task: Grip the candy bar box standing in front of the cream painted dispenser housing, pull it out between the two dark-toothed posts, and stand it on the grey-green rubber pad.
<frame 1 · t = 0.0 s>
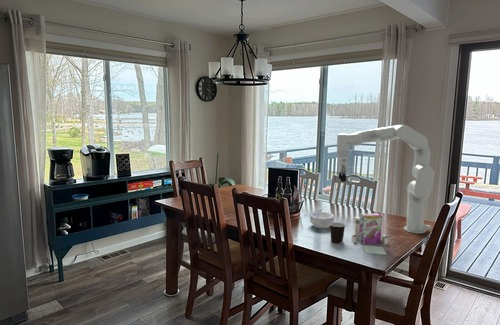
hand: (342, 180, 214), 31 cm above the table, fingers open, 9 cm apart
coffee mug: (335, 242, 193), on the table
candy bar box: (369, 242, 192), on the table
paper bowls: (321, 226, 221), on the table
dispenser: (369, 241, 193), on the table
pad: (374, 250, 180), on the table
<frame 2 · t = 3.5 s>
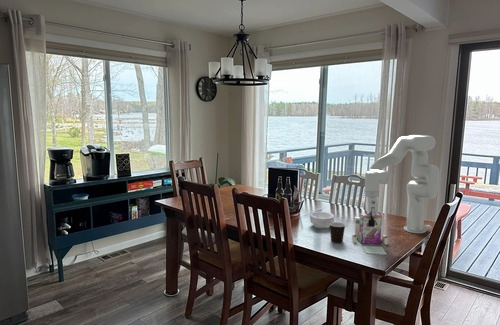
hand: (370, 224, 191), 11 cm above the table, fingers closed on candy bar box, 5 cm apart
candy bar box: (369, 242, 192), on the table, touching gripper
everything else where it was.
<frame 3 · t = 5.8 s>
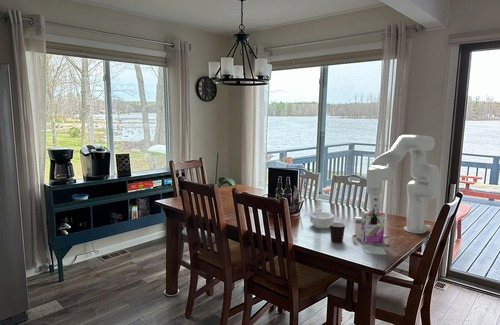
hand: (372, 222, 185), 13 cm above the table, fingers closed on candy bar box, 5 cm apart
candy bar box: (371, 241, 186), point 3 cm above the table, touching gripper
everything else where it was.
when the fingers open (11 cm above the table, at t = 7.9 s): candy bar box stays where it is, resting on pad.
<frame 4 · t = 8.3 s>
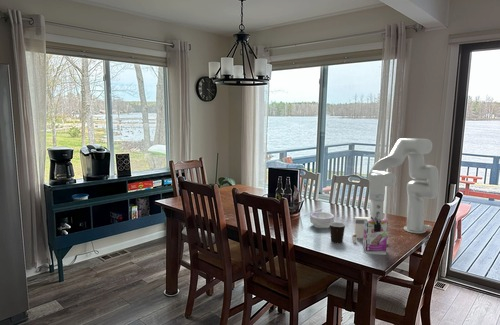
hand: (375, 228, 178), 12 cm above the table, fingers open, 9 cm apart
candy bar box: (374, 249, 180), resting on pad
everything else where it was.
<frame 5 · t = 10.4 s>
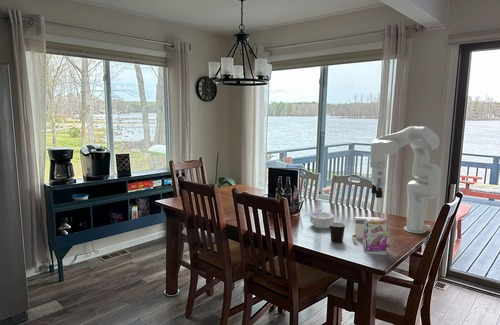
hand: (376, 195, 184), 28 cm above the table, fingers open, 9 cm apart
nothing on the table moved.
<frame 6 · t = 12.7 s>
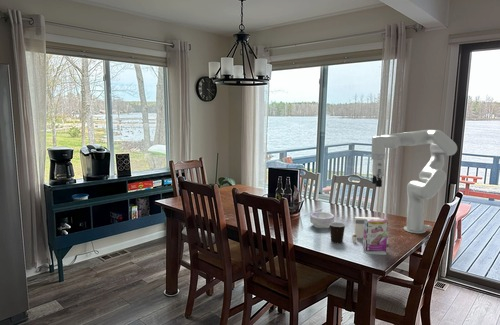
hand: (376, 185, 202), 30 cm above the table, fingers open, 9 cm apart
nothing on the table moved.
at the end: candy bar box inside the target area on the pad (0.3 cm from its centre), point 0.4 cm above the pad's base; candy bar box tilted 0°; the gripper is holding nothing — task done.
